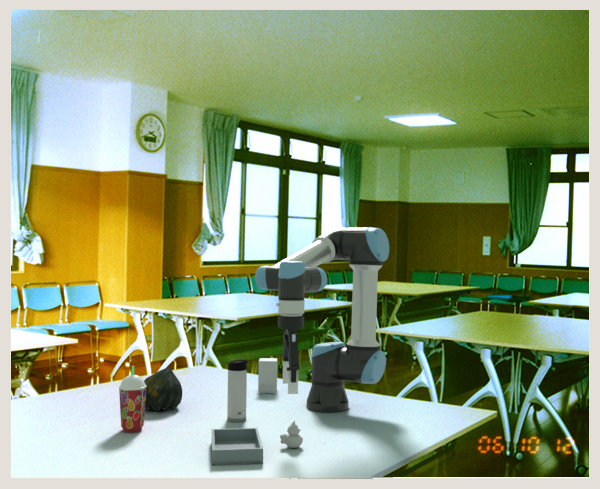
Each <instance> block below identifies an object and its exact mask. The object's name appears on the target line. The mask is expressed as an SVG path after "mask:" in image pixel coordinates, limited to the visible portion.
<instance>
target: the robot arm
mask: <svg viewBox="0 0 600 489" xmlns="http://www.w3.org/2000/svg"><path fill="white" fill-rule="evenodd" d="M389 255H390V242H389V239H388V236H387V234H386V232H385V231H384V230H383V229H381V228H380V227H371V226H367V227H366V226H365V227H360V226H359V227H348V226H346V227H339V228H336V229H332V230H329V231H328V232H324V233H323V234H321V235H319V236H318V237H315V238H314V239H313V241H312V242H311V243H310V244H309V245H307V246H306V247H304V248H302V249H300V250H298V251H296V252H295V253H293V254H291V255H289V256H288V257H286V258H283V259H281V260H280V261H279V262H277V263H275V264H273V265H269V264H266V265H261V266H259V267H258V268H257V269H256V272H255V275H254V279H255V284H256V285H257V287H258V288H259V289H261V290H267V291H278V302H277V303H275V305H276V307H278V314H279V315H278V316H277V327H278V329H281V330H283V337H282V339H283V342H282V343H283V344H282V354H281V356H282V360H283V361H282V384H287V395H298V394H299V370H300V356H299V355H300V354H299V334H298V333H297V330H303V329H304V328H305V316H304V314H305V293H306V294H307V293H317V292H321V291H322V290H324V289H325V288H326V286H327V282H328V277H327V273H326V271H325V270H324V269H323V268H320V267H318V266H319V265H321V264H324V263H325V264H326V263H331V261H337V260H338V261H340V260H341V261H348V265H349V267H350V268H351V269H352V298H351V304H352V305H351V326H350V327H351V332H350V334H351V335H350V339H349V340H348V341H347V342H346V344H345V342H342V341H331V342H322V343H317V344H315V345H314V346H312V350H311V386H310V389H309V391H308V395H307V399H306V408H307V410H308V409H309V410H311V411H315V412H321V413H322V412H323V413H338V412H344V411H347V410H348V409H349V398H348V395H347V392H346V389H345V381H346V382H352V383H353V382H354V383H358V384H359V383H360V384H363V385H365V384H367V385H374V384H378V382H379V381H380V380H381V379H382V377H383V375H384V372H385V370H386V369H385V368H386V366H387V357H386V353H385V352H384V351H382V350H381V348H380V347H381V344H380V343H379V342H378V341H377V338H376V337H377V315H378V313H377V309H378V308H377V307H378V305H377V304H378V283H379V282H378V276H379V270H380V269H382V267H383V262H385V261H387V260H388V258H389Z"/></svg>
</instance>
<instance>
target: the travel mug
mask: <svg viewBox="0 0 600 489" xmlns="http://www.w3.org/2000/svg"><path fill="white" fill-rule="evenodd" d="M248 363H249V359H246V358H245V359H235V360H231V361H228V366H227V411H226V412H227V416H226V418H227V420H228V422H232V423H233V422H234V423H241V422H245V421H246V420H247V394H248V393H247V390H248V389H247V388H248V386H247V384H248V383H247V381H248V379H247V378H248V377H247V375H248V372H247V371H248V369H247V367H248V365H247V364H248Z"/></svg>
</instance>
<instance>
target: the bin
mask: <svg viewBox="0 0 600 489" xmlns="http://www.w3.org/2000/svg"><path fill="white" fill-rule="evenodd" d="M262 443H263V442H262V439H261V435H260V432H259V429H258V427H243V428H242V427H236V428H212V429H211V463H212V464H211V465H212V466H231V465H237V466H238V465H260V464H262V465H263V464H264V447H263V444H262Z"/></svg>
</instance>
